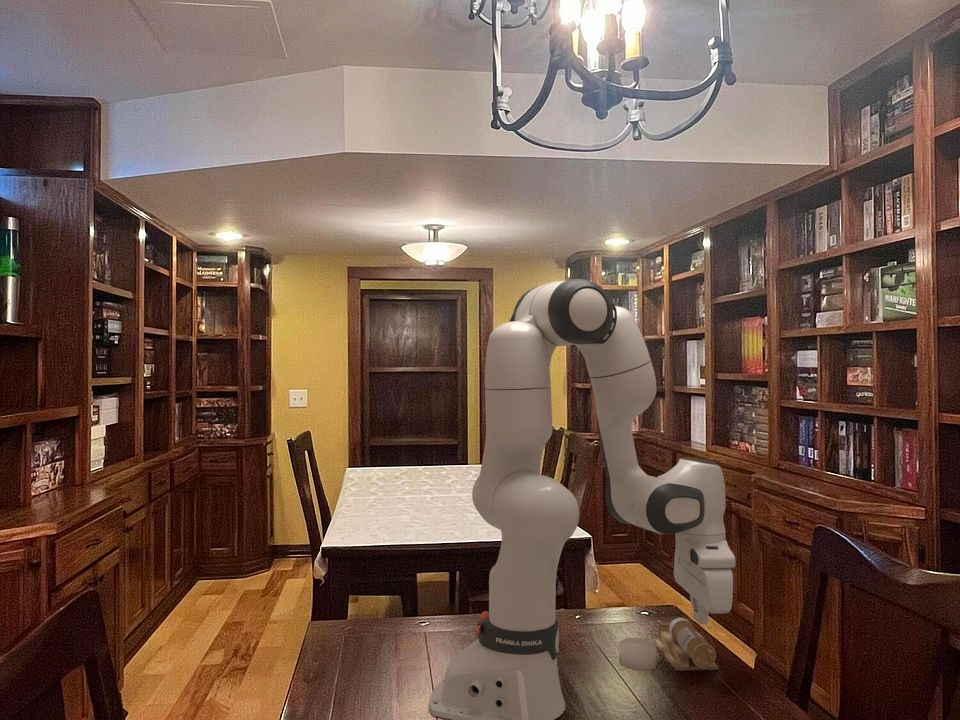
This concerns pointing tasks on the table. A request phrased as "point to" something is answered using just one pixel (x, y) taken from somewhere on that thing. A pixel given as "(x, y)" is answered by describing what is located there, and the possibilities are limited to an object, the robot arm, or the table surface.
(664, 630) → the u rest
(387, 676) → the table surface
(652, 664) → the cream dish
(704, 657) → the sprinkles bottle
